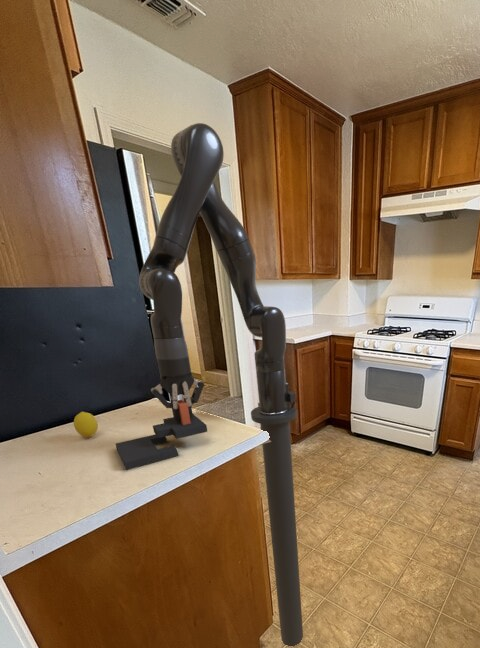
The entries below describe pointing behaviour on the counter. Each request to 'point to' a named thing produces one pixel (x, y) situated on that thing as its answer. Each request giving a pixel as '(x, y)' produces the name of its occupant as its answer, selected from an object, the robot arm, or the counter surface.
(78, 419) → the lemon
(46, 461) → the counter surface
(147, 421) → the counter surface
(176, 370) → the robot arm
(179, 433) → the pad
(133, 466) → the base pad
